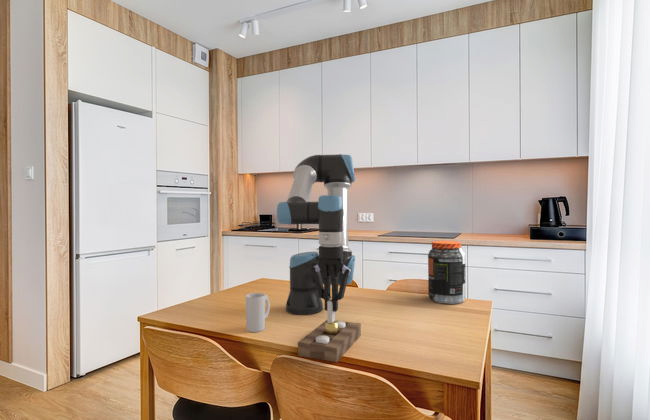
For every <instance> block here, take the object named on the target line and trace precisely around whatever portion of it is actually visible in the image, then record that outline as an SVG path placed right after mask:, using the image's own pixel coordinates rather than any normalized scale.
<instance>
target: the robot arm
mask: <svg viewBox="0 0 650 420" xmlns="http://www.w3.org/2000/svg"><path fill="white" fill-rule="evenodd" d="M292 175H293V182H292V185H291V187H290V191H289V194H288V197H287V200H285V201H280V202H278V203H277V207H276V218H277V222H278V223H279V224H280V225H289V226H291V225H318V245H320V246H318V251H304V252H299V253H296V254H293V255H291V256H290V259H289V293H288V297H287V300H286V304H285V311H286V312H287V313H289V314H293V315H313V314H317V313H320V312H322V311H323V309H324V311H327V319H326V320H328V322H329V323H333V322H334V321H335V320H336V312H337V311H338V310H339V301H341V300H342V299H343V298H344V297H345V293H346V288H347V285H350V284H351V283H352V282H353V279H354V272H355V271H354V270H355V262H356V255H354V254H353V251H352V249H350V247H349V190H350V188H352V183H354V182H355V180H356V178H355V168H354V162H353V158H352V156H351V154H350V155H349V154H341V153H340V154H338V153H337V154H315V155H311V156H308V157H306V158H304V159H303V160H301V161H300V162H299V163H298V164H297V165H296V167H295V169H294V171H293V174H292ZM315 183H323V186H324V189H326V190H327V194H326V195H325V194H324V195H323V194H322V195H319V197H318V199H317V200H318V201H310V198H311V192H312V190H313V189H312V188H313V185H314V184H315ZM322 300H324V302H323V301H322ZM323 303H324V304H323Z"/></svg>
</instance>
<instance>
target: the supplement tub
mask: <svg viewBox="0 0 650 420" xmlns="http://www.w3.org/2000/svg"><path fill="white" fill-rule="evenodd" d="M427 260H428V261H427V267H428V268H427V269H428V271H427V273H428V275H427V276H428V278H427V279H428V282H427V283H428V286H427V287H428V298H429V299H430V300H431V301H433V302H435V303H440V304H451V305H453V304H461V303H464V302H465V301H466V294H467V293H466V290H467V289H466V254H465V252H464V251H463V248H462V242H461V241H459V240H457V241H455V240H435V241H434V240H433V241H432V242H431V249H430V250H429V252H428V255H427Z"/></svg>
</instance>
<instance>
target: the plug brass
mask: <svg viewBox="0 0 650 420" xmlns="http://www.w3.org/2000/svg"><path fill="white" fill-rule="evenodd" d="M325 321H326V320H325ZM325 321H324V322H325ZM337 321H338V320H336V321H334V322H333V323H329V322H328V321H326V322H325V334H328V335H335V336H336V335H337V334H338V322H337Z"/></svg>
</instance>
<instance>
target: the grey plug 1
mask: <svg viewBox="0 0 650 420" xmlns="http://www.w3.org/2000/svg"><path fill="white" fill-rule="evenodd" d="M316 342H318V343H324V344H327V343H328V342H329V337H328V336H324V335H321V336H317V337H316Z"/></svg>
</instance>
